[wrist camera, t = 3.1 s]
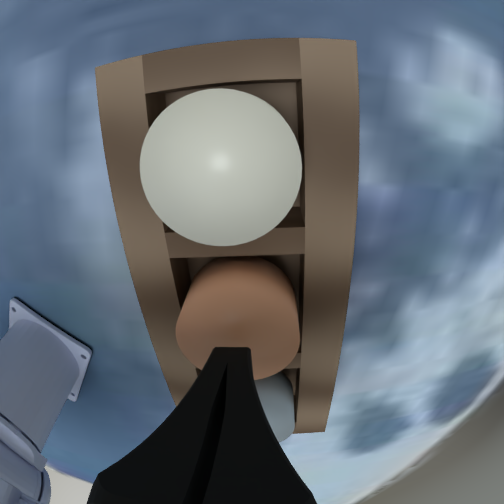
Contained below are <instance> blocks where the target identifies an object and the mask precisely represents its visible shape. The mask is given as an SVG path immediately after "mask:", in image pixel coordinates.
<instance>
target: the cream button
mask: <svg viewBox="0 0 504 504" xmlns="http://www.w3.org/2000/svg"><path fill="white" fill-rule="evenodd" d="M140 177H141V182H142V186H143V190H144V192H145V195H146V198H147V200H148V202H149V204H150V205H151V207H152V209H153V210H154V211H155V213H156V214H157V215H158V217H159V218H160V219H161V220H162V221H163V222H164V223H165V224H166V225H167V226H168V227H170V228H171V229H172V230H174V231H175V232H176V233H178V234H180V235H182V236H183V237H185V238H187V239H190V240H192V241H195V242H198V243H202V244H205V245H212V246H233V245H239V244H243V243H247V242H250V241H252V240H255V239H257V238H259V237H261V236H263V235H265V234H266V233H268V232H269V231H271V230H272V229H273V228H274V227H276V226H277V225H278V224H279V223H280V222H281V221H282V220H283V218H284V217H285V216H286V215H287V213H288V212H289V210H290V209H291V208H292V206H293V204H294V202H295V200H296V197H297V194H298V191H299V188H300V183H301V178H302V161H301V154H300V150H299V146H298V143H297V140H296V138H295V135H294V134H293V132H292V130H291V128H290V126H289V125H288V124H287V122H286V121H285V120H284V118H283V117H282V116H281V115H280V113H279V112H278V111H277V110H276V109H275V108H274V107H272V106H271V105H270V104H268V103H267V102H266V101H264V100H262V99H260V98H259V97H256V96H254V95H251V94H248V93H245V92H242V91H238V90H233V89H223V88H219V89H207V90H201V91H197V92H194V93H191V94H188V95H186V96H184V97H182V98H180V99H178V100H177V101H175V102H174V103H172V104H171V105H169V106H168V107H167V108H166V109H165V110H164V111H163V112H162V113H161V114H160V115H159V116H158V117H157V118H156V120H155V121H154V122H153V124H152V125H151V127H150V129H149V131H148V133H147V135H146V137H145V139H144V143H143V146H142V150H141V156H140Z"/></svg>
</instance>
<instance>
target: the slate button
mask: <svg viewBox="0 0 504 504" xmlns="http://www.w3.org/2000/svg"><path fill="white" fill-rule="evenodd" d="M254 382H255V385H256V389H257V392H258V396H259V399H260V402H261V404H262V407H263V410H264V412H265V415H266V417H267V420H268V422H269V424H270V426H271V428H272V431H273V433H274V435H275V437H276V439H277V440H278V442H281V441H283V440H285V439H287V438H288V437H289V436H290V435H291V434H292V433H293V431H294V428H295V420H294V398H293V386H292V383H291V381H290V380H289V378H288V377H287V376H286V375H285V374H283V373H282V372H280V371H279V372H278V373H276V374H274V375H272V376H269V377H266V378H263V379H258V380H254Z"/></svg>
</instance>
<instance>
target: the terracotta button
mask: <svg viewBox="0 0 504 504" xmlns="http://www.w3.org/2000/svg"><path fill="white" fill-rule="evenodd" d="M176 339H177V343H178V346H179V348H180V349H181V351H182V353H183V354H184V356H185V357H186V358H187V359H188V360H189V361H190V362H191V363H192V364H193V365H195V366H196V367H197V368H199V369H200V370H202V369H203V367H204V365H205V363H206V362H207V360H208V358H209V356H210V354H211V352H212V350H213V348H215V347H248V348H250V349H251V356H252V366H253V377H254V380H258V379H263V378H266V377H269V376H272V375H274V374H276V373H278V372H279V371H281V370H283V369H284V368H285V367H287V366H288V365H289V364H290V363H291V361H292V360H293V359H294V357H295V356H296V354H297V352H298V349H299V345H300V332H299V322H298V313H297V304H296V295H295V290H294V287H293V285H292V283H291V281H290V280H289V278H288V277H287V275H286V274H285V273H284V272H283V271H282V270H281V269H280V268H278V267H277V266H276V265H274V264H272V263H271V262H269V261H267V260H264V259H262V258H259V257H255V256H224V257H221V258H218V259H215V260H213V261H211V262H209V263H208V264H206V265H205V266H204V267H202V268H201V269H200V270H199V271H198V273H197V274H196V275H195V277H194V279H193V280H192V283H191V285H190V288H189V291H188V293H187V296H186V299H185V301H184V304H183V307H182V309H181V312H180V315H179V317H178V320H177V323H176Z"/></svg>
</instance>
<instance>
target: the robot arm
mask: <svg viewBox="0 0 504 504" xmlns="http://www.w3.org/2000/svg"><path fill="white" fill-rule="evenodd" d="M91 355H92V351H91V350H90V348H88V347H87V346H85V345H84V344H82V343H80V342H79V341H77V340H75V339H74V338H72V337H71V336H69V335H67V334H66V333H64V332H63V331H61V330H60V329H58V328H57V327H55V326H54V325H52V324H51V323H49V322H48V321H46V320H45V319H43V318H42V317H41V316H39V315H38V314H36V313H35V312H34V311H32V310H31V309H29V308H28V307H27V306H25V305H24V304H23V303H21V302H20V301H19V300H17V299H16V298H12V299H11V300H10V310H9V331H8V332H7V333H6V334H5V335H4V337H3V338H2V339H1V340H0V504H49V502H50V497H51V486H50V479H49V475H48V473H47V471H46V470H45V468H44V467H45V464H46V462H47V459H46V458H45V457H43V456H42V455H41V454H40V453H41V451H42V449H43V447H44V445H45V442H46V440H47V438H48V436H49V434H50V432H51V430H52V428H53V426H54V424H55V422H56V419H57V417H58V415H59V413H60V411H61V409H62V407H63V405H64V403H65V402H66V400H67V398H68V399H70V400H71V401H76V400H77V398H78V394H79V391H80V388H81V385H82V382H83V379H84V376H85V373H86V370H87V367H88V364H89V361H90V358H91ZM87 504H317V502H316V501H315V499H314V496H313V494H312V492H311V491H310V490H309V489H308V487H307V486H306V485H305V483H304V482H303V481H302V479H301V478H300V476H299V475H298V474H297V472H296V471H295V469H294V468H293V466H292V465H291V463H290V461H289V460H288V458H287V456H286V455H285V453H284V451H283V449H282V448H281V446H280V444H279V442H278V440H277V439H276V437H275V435H274V433H273V431H272V428H271V426H270V424H269V422H268V420H267V417H266V415H265V412H264V410H263V407H262V404H261V402H260V399H259V396H258V392H257V389H256V385H255V382H254V377H253V366H252V356H251V349H250V348H248V347H215V348H213V350H212V352H211V354H210V356H209V358H208V360H207V362H206V363H205V365H204V367H203V369H202V370H201V372H200V374H199V375H198V377H197V378H196V380H195V381H194V383H193V385H192V386H191V388H190V389H189V391H188V392H187V393H186V395H185V396H184V397H183V399H182V400H181V401H180V403H179V404H178V405H177V407H176V408H175V409H174V410H173V412H172V413H171V414H170V415H169V416H168V417H167V418H166V420H165V421H164V422H163V423H162V424H161V425H160V426H159V427H158V428H157V429H156V430H155V431H154V432H153V433H152V434H151V435H150V436H149V437H148V438H147V439H146V440H144V441H143V442H142V443H141V444H140V445H139V446H137V447H136V448H135V449H134V450H132V451H131V452H130V453H129V454H127V455H126V456H125V457H123V458H122V459H121V460H119V461H118V462H116V463H114V464H113V465H111V466H110V467H108V468H107V469H105V470H103V471H102V472H100V473H99V474H98V475H97V478H96V480H95V481H94V483H93V486H92V489H91V492H90V495H89V498H88V501H87Z"/></svg>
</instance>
